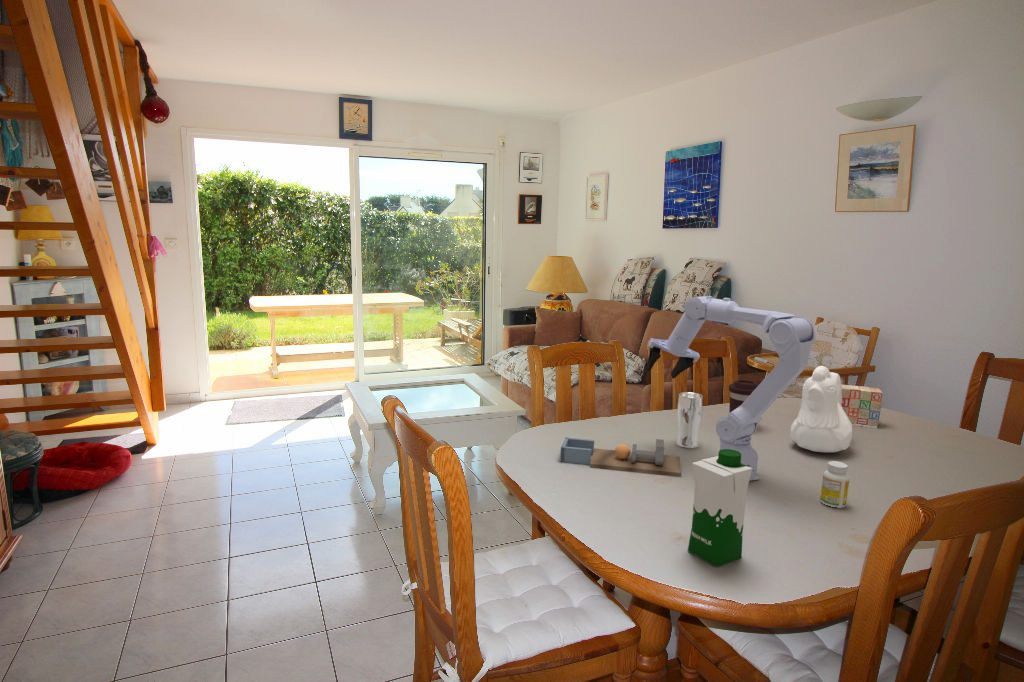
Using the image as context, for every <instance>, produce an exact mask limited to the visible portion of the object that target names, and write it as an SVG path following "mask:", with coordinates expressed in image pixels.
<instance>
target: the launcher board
mask: <svg viewBox="0 0 1024 682" xmlns="http://www.w3.org/2000/svg"><path fill="white" fill-rule="evenodd" d="M631 462H632V451H630V455H629V457H628V458H626V459H620V458H618V457H617V456H616V454H615V450H614V449H605V448H596V447H594V451H593V455H591V462H590V465H589V468H594V469H603V470H613V471H620V472H630V473H631V472H633V473H641V474H650V475H651V474H653V475H661V476H670V477H672V476H673V477H682V467H681V465H682V464H681V458H680V456H679V455H677V456H676V455H667V454H664V458H663V466H661V465H655V463H651V462H641V461H636V462H635V463H631Z"/></svg>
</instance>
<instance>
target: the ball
mask: <svg viewBox="0 0 1024 682" xmlns="http://www.w3.org/2000/svg"><path fill="white" fill-rule="evenodd" d="M630 452H631V449H630V446H628V444H624V443H620V444H618V445H617V446H616V447H615V454H616V456H617V457H618V458H620V459H626V458H628V457H629V455H630Z"/></svg>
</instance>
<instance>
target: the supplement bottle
mask: <svg viewBox="0 0 1024 682" xmlns="http://www.w3.org/2000/svg"><path fill="white" fill-rule="evenodd" d="M848 468H849V466H848V464H846V463H844V462H841V461H838V460H837V461H836V460H831V461H828V462H827V469H826V470H825V471H824V472H823V475H822V479H821V481H822V483H821V489H820V490H821V491H820V498H819V501H820V503H821V502H822V503H823V504H822V503H821V504H822V505H824V504H825V505H824V506H826V505H828V506H831V507H830V508H832V507H837V508H836V509H843V508H845V507H846V506H847V501H848V500H847V499H848V492H849V486H850V485H849V484H850V476H849V474H848V473H847V472H848ZM828 506H827V507H828ZM842 507H843V508H842Z"/></svg>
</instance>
